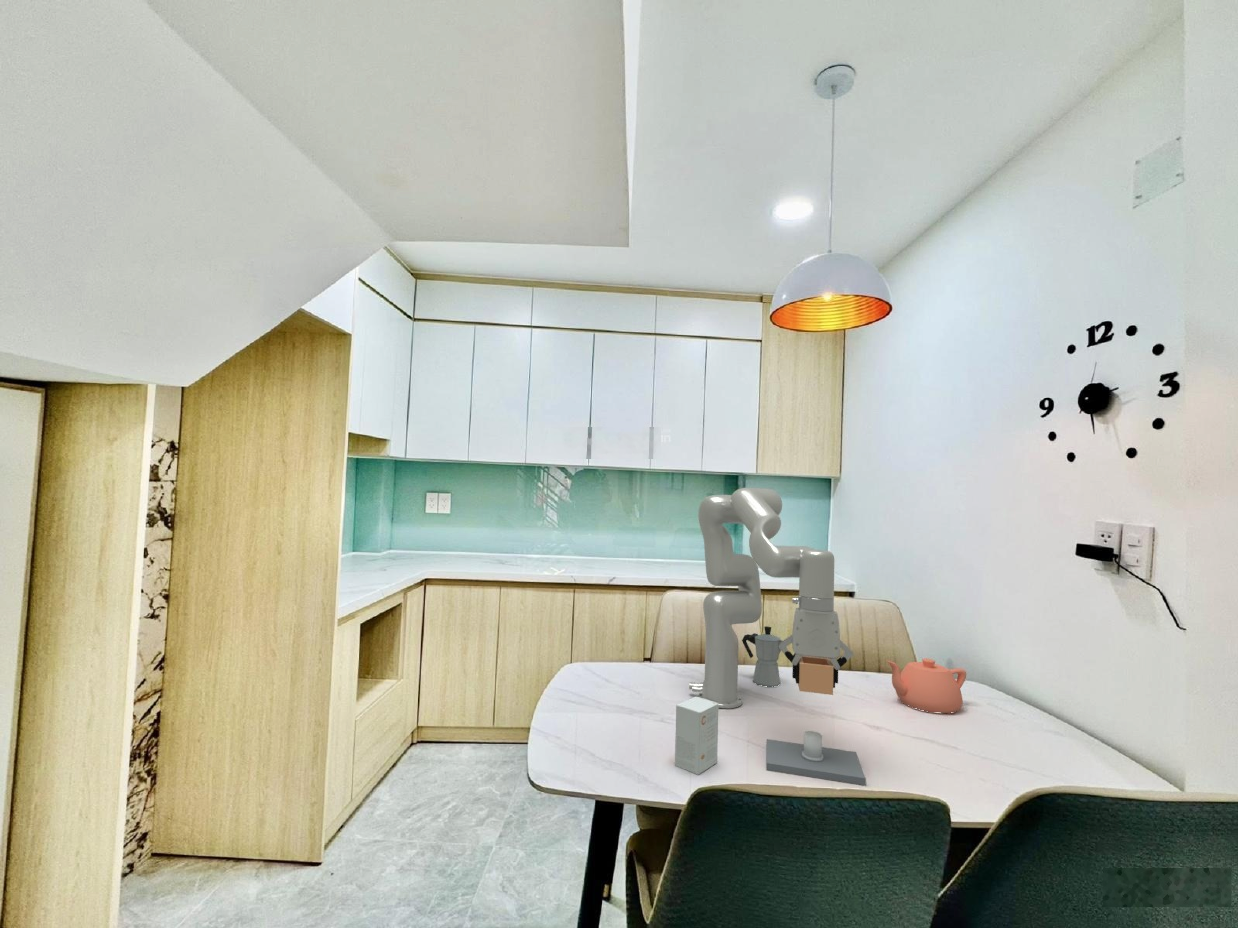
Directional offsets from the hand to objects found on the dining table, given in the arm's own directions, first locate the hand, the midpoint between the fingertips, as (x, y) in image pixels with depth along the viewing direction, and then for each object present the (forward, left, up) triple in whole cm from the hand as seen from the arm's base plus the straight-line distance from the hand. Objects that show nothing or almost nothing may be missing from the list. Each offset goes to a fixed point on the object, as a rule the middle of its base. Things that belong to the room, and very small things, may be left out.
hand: (814, 683), depth 127 cm
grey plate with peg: (0, 0, -18) cm, 18 cm away
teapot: (+36, +53, -18) cm, 66 cm away
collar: (0, 0, -1) cm, 1 cm away
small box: (-25, -9, -18) cm, 32 cm away
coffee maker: (-11, +56, -18) cm, 60 cm away
